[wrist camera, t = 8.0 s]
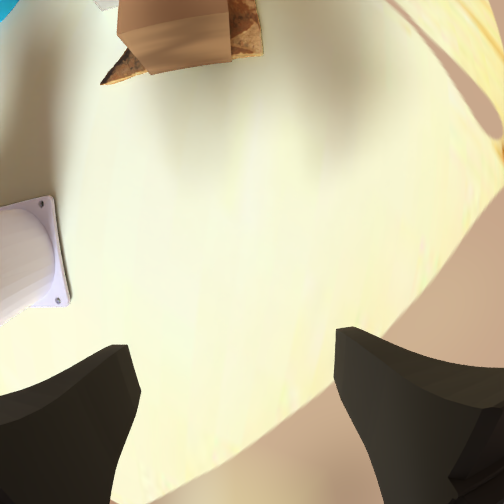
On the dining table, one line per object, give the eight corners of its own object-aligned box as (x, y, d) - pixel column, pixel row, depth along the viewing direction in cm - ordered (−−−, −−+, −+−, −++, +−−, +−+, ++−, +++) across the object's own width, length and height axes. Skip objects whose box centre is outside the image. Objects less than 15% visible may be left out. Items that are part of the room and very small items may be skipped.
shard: (107, 91, 17) (97, 83, 15) (111, 10, 16) (103, -1, 14) (263, 64, 17) (265, 53, 16) (251, -16, 16) (252, -29, 14)
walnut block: (151, 75, 16) (116, 34, 10) (150, 14, 15) (122, -34, 9) (231, 61, 16) (228, 12, 10) (224, 1, 15) (220, -54, 9)
